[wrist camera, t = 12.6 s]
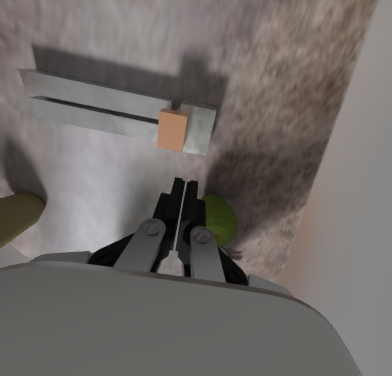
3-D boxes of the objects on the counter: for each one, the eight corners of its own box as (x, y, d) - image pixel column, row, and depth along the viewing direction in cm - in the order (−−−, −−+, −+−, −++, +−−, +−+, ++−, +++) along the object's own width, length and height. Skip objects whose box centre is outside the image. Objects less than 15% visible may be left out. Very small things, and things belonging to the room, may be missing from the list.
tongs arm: (172, 122, 27) (169, 127, 25) (170, 138, 29) (167, 144, 27) (44, 95, 26) (28, 97, 23) (49, 113, 27) (35, 117, 25)
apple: (235, 185, 34) (247, 227, 25) (226, 214, 39) (234, 258, 30) (194, 181, 34) (191, 222, 24) (190, 210, 39) (187, 254, 29)
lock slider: (188, 113, 23) (187, 117, 21) (183, 145, 25) (182, 151, 23) (163, 107, 22) (159, 111, 20) (160, 141, 25) (157, 147, 23)
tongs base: (214, 106, 26) (216, 111, 22) (205, 146, 30) (205, 155, 26) (35, 67, 24) (8, 66, 20) (50, 116, 28) (30, 122, 24)
